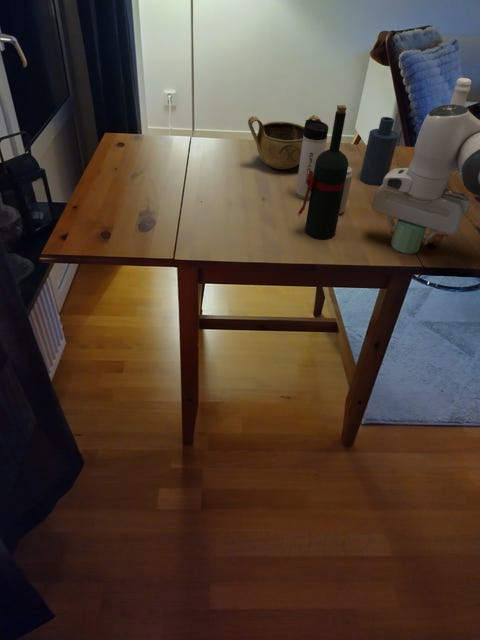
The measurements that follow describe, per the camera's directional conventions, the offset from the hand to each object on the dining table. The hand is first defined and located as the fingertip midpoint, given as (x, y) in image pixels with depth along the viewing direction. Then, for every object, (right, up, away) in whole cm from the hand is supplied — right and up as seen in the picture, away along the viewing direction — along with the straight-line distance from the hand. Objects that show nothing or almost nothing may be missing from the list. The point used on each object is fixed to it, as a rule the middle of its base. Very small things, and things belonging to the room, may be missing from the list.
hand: (407, 237), depth 111 cm
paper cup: (0, -2, +2) cm, 2 cm away
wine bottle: (-22, +2, +5) cm, 22 cm away
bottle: (+16, +20, +27) cm, 37 cm away
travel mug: (-22, +16, +20) cm, 34 cm away
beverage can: (-15, +10, +14) cm, 23 cm away
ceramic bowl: (-28, +29, +36) cm, 54 cm away
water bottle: (0, +23, +30) cm, 38 cm away
